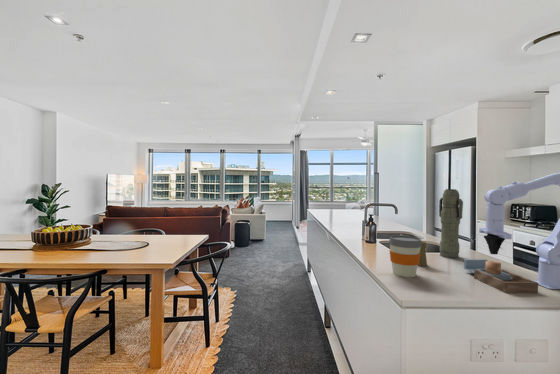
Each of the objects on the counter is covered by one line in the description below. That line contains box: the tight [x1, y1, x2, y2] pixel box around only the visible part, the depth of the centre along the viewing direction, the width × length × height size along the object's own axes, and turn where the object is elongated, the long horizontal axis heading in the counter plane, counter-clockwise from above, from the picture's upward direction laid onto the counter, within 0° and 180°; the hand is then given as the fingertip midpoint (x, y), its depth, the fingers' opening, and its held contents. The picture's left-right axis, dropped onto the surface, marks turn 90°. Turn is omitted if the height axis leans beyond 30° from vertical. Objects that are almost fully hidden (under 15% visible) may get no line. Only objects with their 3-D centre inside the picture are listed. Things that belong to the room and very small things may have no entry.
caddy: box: [473, 268, 539, 294], centre depth 114 cm, size 16×12×4 cm
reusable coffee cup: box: [388, 234, 422, 278], centre depth 125 cm, size 13×13×15 cm
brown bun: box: [485, 260, 502, 275], centre depth 119 cm, size 5×5×5 cm
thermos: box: [438, 188, 464, 259], centre depth 157 cm, size 9×12×35 cm
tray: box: [463, 258, 513, 280], centre depth 123 cm, size 14×10×4 cm
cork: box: [417, 240, 428, 267], centre depth 140 cm, size 6×6×11 cm
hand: (493, 253), depth 119 cm, fingers closed
